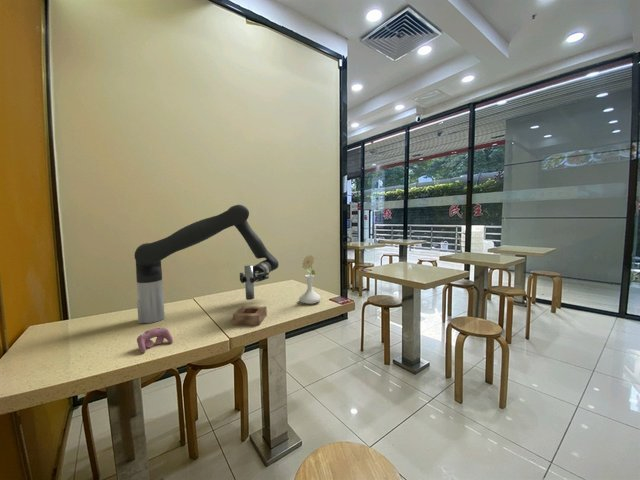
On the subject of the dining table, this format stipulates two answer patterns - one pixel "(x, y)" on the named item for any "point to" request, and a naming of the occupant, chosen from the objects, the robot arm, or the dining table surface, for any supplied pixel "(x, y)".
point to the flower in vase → (309, 283)
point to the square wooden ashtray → (249, 315)
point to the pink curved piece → (156, 332)
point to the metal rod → (249, 282)
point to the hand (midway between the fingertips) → (247, 280)
